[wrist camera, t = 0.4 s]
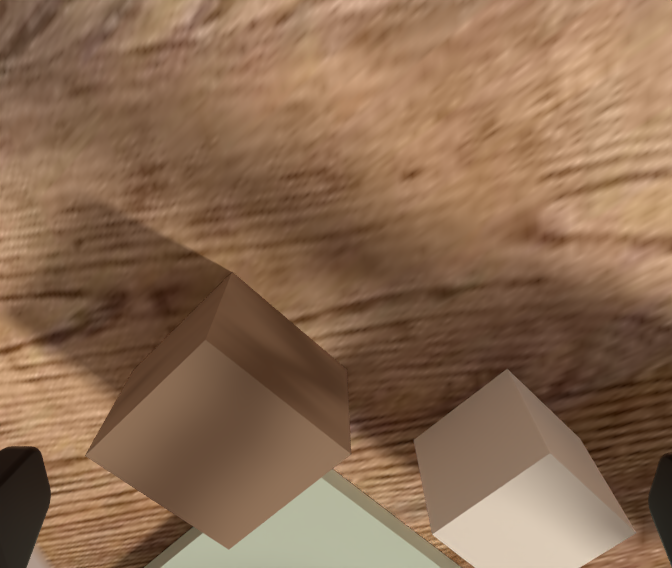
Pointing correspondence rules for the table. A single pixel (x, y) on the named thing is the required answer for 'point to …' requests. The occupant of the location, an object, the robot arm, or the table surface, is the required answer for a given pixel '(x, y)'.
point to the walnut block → (228, 416)
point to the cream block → (515, 484)
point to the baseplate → (314, 537)
